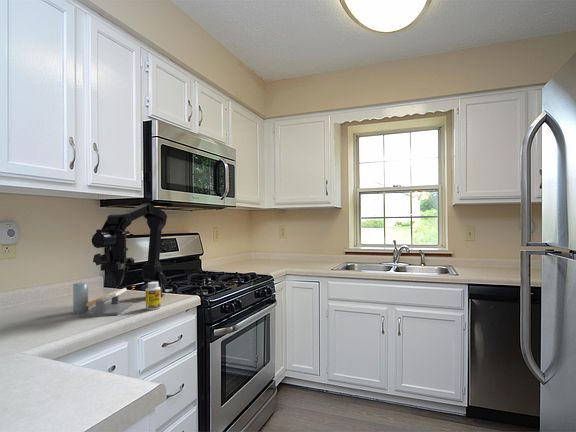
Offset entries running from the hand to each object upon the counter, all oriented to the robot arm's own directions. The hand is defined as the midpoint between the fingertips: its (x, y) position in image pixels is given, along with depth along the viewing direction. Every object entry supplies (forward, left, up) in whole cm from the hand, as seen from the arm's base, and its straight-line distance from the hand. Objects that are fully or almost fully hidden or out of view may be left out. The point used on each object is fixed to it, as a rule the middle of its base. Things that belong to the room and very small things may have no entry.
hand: (118, 285), depth 132 cm
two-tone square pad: (0, -4, -5) cm, 6 cm away
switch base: (0, -4, -10) cm, 10 cm away
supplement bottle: (0, +13, -10) cm, 16 cm away
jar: (0, -14, -10) cm, 17 cm away
